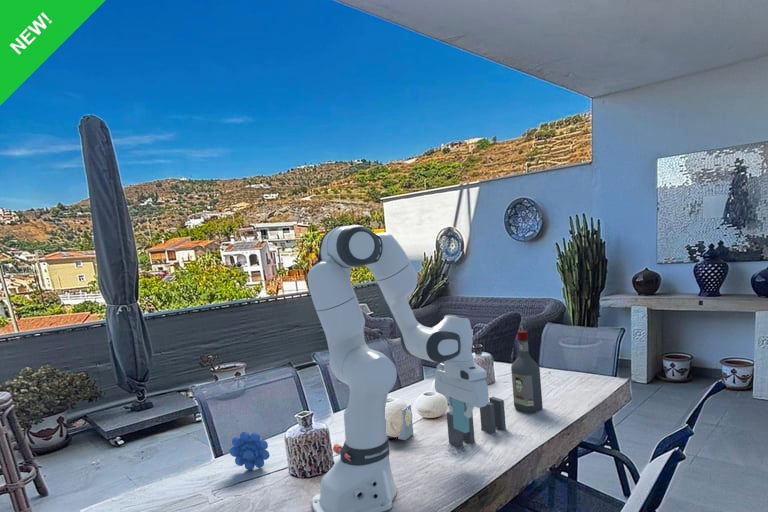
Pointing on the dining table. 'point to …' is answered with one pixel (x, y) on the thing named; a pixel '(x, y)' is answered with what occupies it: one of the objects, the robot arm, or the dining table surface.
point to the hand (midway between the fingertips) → (460, 414)
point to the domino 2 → (454, 432)
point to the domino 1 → (460, 416)
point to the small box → (406, 430)
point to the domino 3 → (469, 435)
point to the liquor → (526, 379)
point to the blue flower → (249, 450)
